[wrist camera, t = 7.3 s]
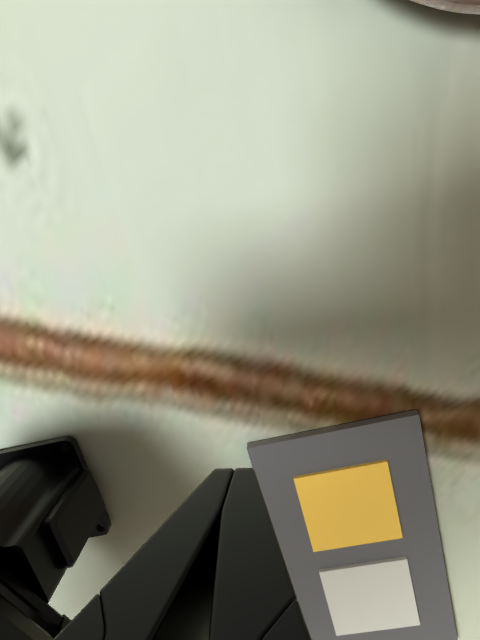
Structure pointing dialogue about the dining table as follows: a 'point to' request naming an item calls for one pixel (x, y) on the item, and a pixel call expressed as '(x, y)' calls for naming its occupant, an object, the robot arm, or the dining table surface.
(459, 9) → the plant saucer
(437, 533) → the card
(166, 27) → the dining table surface
